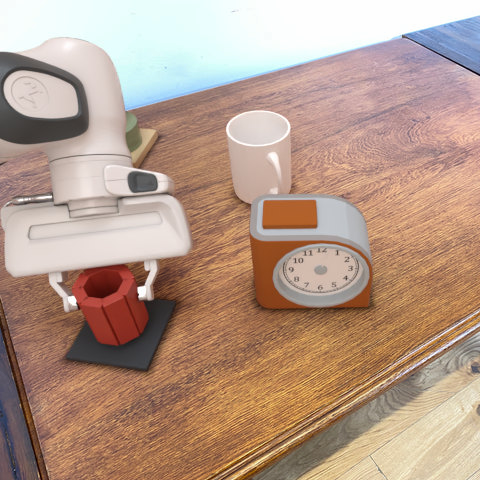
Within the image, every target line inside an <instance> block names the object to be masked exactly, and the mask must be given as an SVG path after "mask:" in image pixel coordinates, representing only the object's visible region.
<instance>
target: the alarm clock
mask: <svg viewBox="0 0 480 480" xmlns="http://www.w3.org/2000/svg"><path fill="white" fill-rule="evenodd" d="M249 210H250V211H249V221H248V222H249V223H248V224H249V225H248V235H249V243H250V252H251V253H250V254H251V259H252V260H251V262H252V271H253V281H254V290H255V298H256V302H257V303H258V304H259V305H260V306H261V307H263V308H264V309H270V310H277V309H278V310H279V309H280V310H281V309H283V310H285V309H286V310H287V309H329V308H330V309H331V308H332V309H333V308H334V309H335V308H368V307H369V306H370V300H371V292H372V287H373V285H372V284H373V277H374V266H373V265H374V263H373V259H372V258H373V257H372V252H371V245H370V244H371V243H370V239H369V231H368V226H367V221H366V218H365V216H364V214H363V212H362V211H361V210H360V209H359V207H357V205H355V203H353V202H351V201H350V200H348V199H346V198H344V197H341V196H337V195H335V194H329V193H289V194H265V195H261V196H259V197H257V198H255V199H254V200H253V202H252V204H250V209H249Z"/></svg>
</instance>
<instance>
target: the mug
mask: <svg viewBox="0 0 480 480" xmlns="http://www.w3.org/2000/svg"><path fill="white" fill-rule="evenodd" d="M225 131H226V141H227V148H228V149H227V150H228V156H229V163H230V172H231V180H232V186H233V187H232V188H233V190H234V193H235V195H236V197H237V198H239V200H240V201H243V202H244V203H245V204H249V205H251V204H252V202H253V200H254V199H255V198H257V197H259V196H261V195H265V194H290V192H291V190H292V184H293V183H292V180H293V179H292V177H293V176H292V140H291V139H292V137H291V136H292V135H291V134H292V133H291V123H290V121H289V120H288V119H287V118H286V116H285V117H284V115H282V114H279V113H277V112H274V111H270V110H250V111H245V112H243V113H239V114H237V115H235V116H234V117H232V118H231V119H230V120H229V121H228V123H227V124H226V129H225Z"/></svg>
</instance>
